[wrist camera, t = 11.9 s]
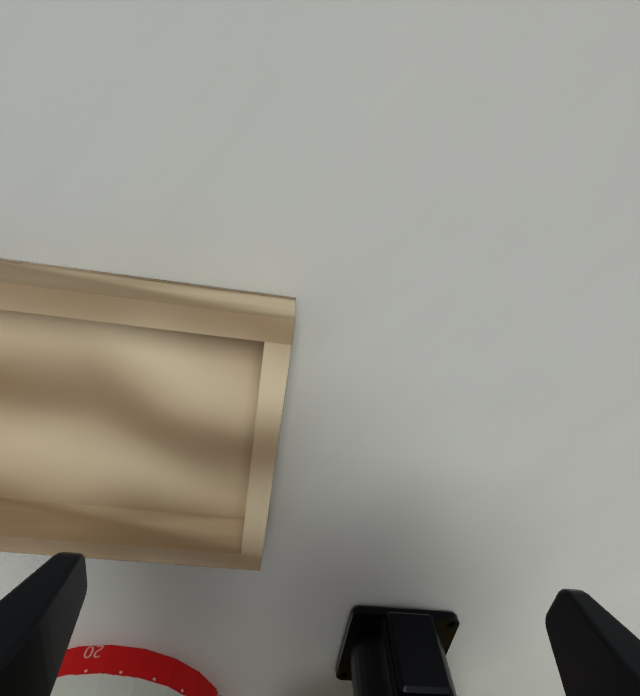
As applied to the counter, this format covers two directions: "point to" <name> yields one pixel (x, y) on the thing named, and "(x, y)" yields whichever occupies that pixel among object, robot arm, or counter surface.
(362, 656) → the robot arm
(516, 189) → the counter surface
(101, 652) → the kitchen timer
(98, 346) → the oak tray
